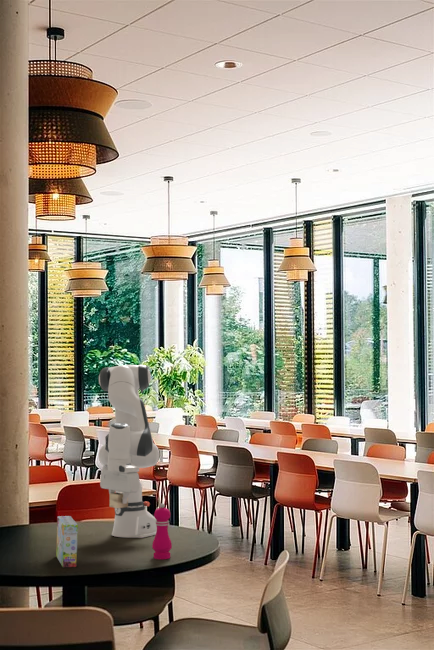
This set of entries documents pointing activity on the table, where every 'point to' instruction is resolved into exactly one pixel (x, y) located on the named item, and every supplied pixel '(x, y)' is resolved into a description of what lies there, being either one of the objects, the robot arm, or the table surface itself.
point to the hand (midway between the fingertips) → (118, 502)
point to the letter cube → (117, 500)
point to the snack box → (67, 541)
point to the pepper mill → (162, 534)
